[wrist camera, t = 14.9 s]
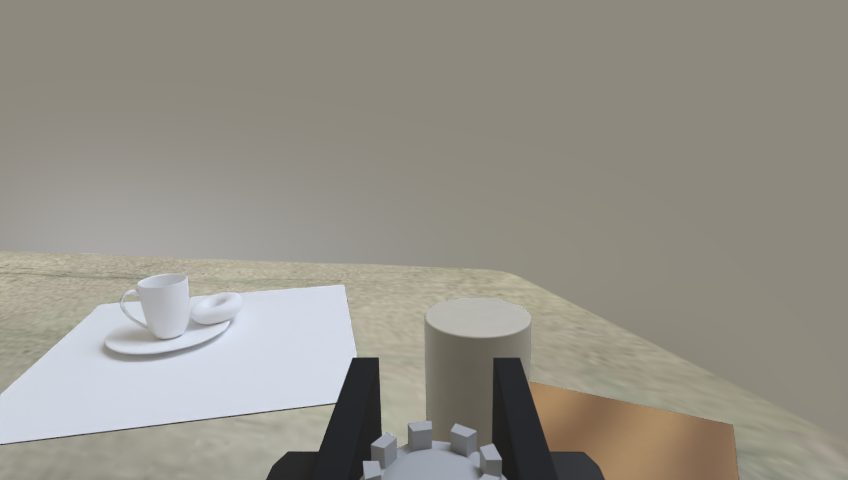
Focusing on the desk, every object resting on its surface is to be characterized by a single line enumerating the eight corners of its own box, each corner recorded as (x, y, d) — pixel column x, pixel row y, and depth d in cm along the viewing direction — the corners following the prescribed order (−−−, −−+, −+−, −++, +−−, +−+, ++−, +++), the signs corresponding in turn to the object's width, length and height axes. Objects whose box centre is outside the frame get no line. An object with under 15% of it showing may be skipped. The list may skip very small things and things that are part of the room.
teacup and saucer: (248, 308, 42) (243, 259, 41) (234, 352, 34) (227, 292, 33) (128, 319, 40) (120, 268, 39) (85, 366, 33) (74, 305, 32)
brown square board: (731, 435, 25) (733, 424, 25) (751, 640, 15) (754, 624, 15) (473, 378, 31) (473, 369, 30) (371, 501, 21) (370, 488, 21)
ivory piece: (538, 460, 22) (543, 305, 21) (508, 525, 19) (512, 345, 17) (451, 436, 24) (450, 291, 23) (409, 492, 21) (405, 325, 19)
